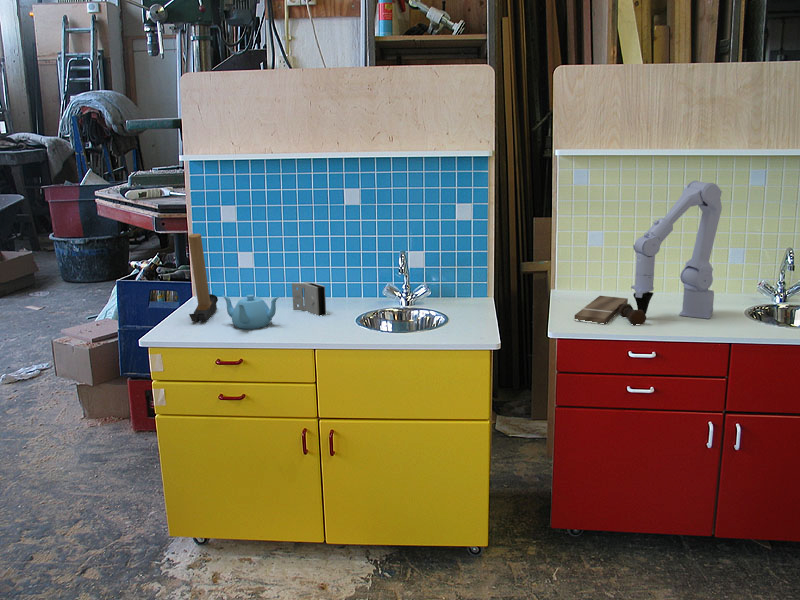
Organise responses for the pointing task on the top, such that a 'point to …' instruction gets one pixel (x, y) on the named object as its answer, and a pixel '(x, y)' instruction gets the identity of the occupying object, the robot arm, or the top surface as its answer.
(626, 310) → the bolt
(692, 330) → the top surface
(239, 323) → the teapot
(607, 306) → the plank
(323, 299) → the hinge
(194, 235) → the hammer
